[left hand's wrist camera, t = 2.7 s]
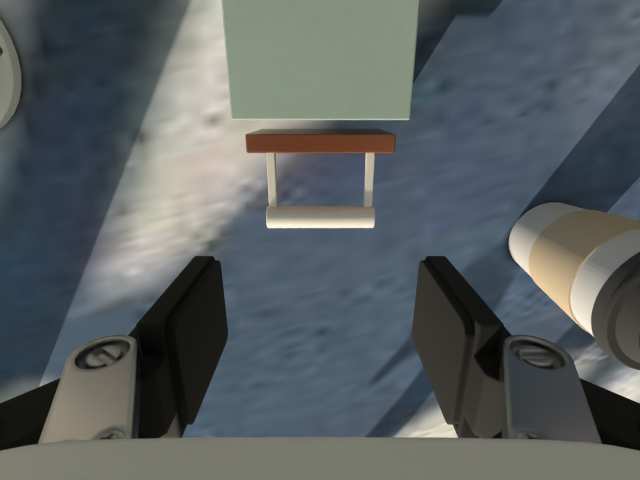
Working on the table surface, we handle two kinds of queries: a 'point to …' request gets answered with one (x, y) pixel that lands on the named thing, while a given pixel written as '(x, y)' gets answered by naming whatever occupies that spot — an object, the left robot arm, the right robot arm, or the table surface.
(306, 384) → the table surface
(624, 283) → the coffee cup
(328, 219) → the drawer
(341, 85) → the cabinet
